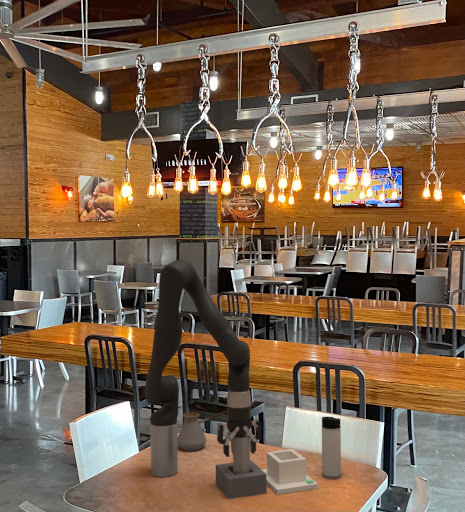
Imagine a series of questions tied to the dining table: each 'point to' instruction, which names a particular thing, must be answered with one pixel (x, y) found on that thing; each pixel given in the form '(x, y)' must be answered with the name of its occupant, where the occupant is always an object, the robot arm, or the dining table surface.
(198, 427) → the coffee pot
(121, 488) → the dining table surface
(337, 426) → the travel mug
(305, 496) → the dining table surface
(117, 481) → the dining table surface
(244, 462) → the vintage mobile phone
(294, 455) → the charging dock
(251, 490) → the holster
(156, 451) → the robot arm
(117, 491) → the dining table surface
